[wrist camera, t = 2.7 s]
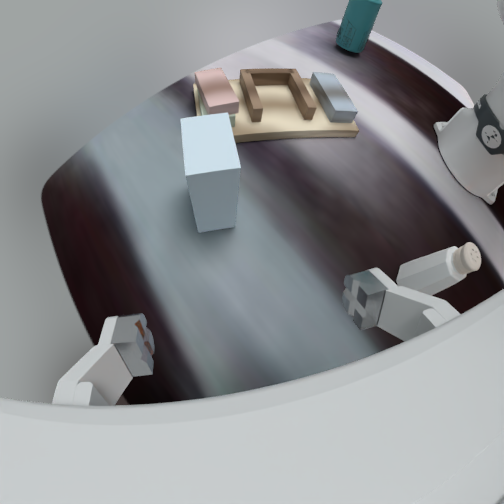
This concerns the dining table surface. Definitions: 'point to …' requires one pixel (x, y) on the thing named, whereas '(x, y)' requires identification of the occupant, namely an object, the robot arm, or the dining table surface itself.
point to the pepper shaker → (439, 269)
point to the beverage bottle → (357, 24)
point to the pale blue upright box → (211, 170)
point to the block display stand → (277, 104)
